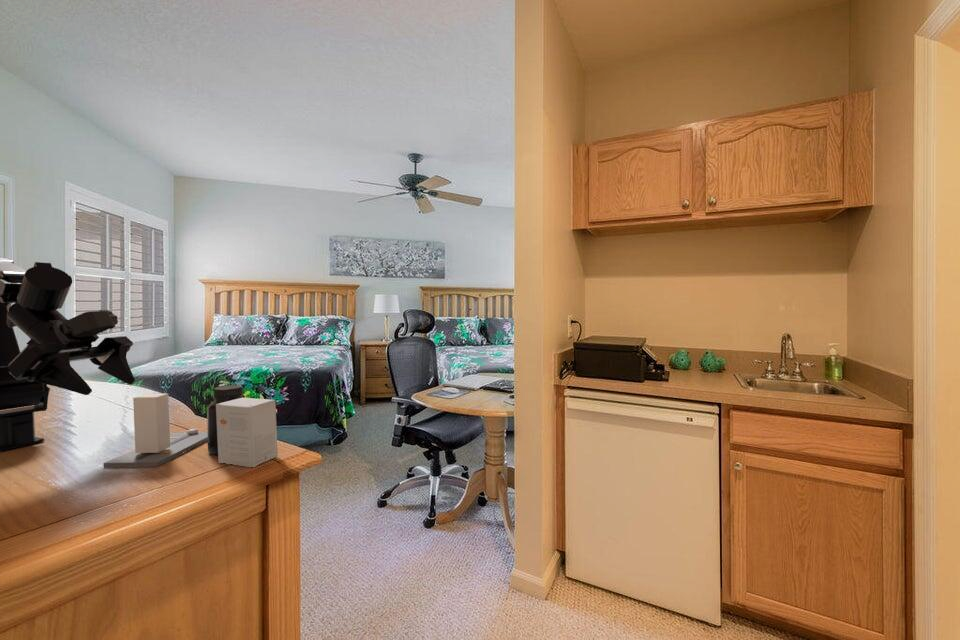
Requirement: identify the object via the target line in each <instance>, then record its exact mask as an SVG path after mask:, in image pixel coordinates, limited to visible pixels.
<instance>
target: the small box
mask: <svg viewBox="0 0 960 640" xmlns="http://www.w3.org/2000/svg"><path fill="white" fill-rule="evenodd" d="M276 411H277V408H276V399H268V398H267V399H266V398H265V399H264V398H254V397H253V398H252V397H242V398H239V399H235V400H231V401H227V402H223V403H219V404H216V419H217V441H218V455H217V458H218V460H217V461H218V463H219V462H220V463H219V464H223V463H228V464H227V465H230V464H233V465H232V466H237V465H238V466H240V467H244V466H245V468H251V467H253V468H255V467H258V466H260V465H261V463H262V464H264V463H266V462H269V461H271V460H273V459H274V458H277V457H278V451H279V450H278V436H277V435H278V433H277V429H278V428H277V412H276ZM270 459H271V460H270ZM265 461H266V462H265ZM263 462H264V463H263ZM259 464H260V465H259ZM257 465H258V466H257Z"/></svg>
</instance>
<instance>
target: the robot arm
mask: <svg viewBox="0 0 960 640" xmlns="http://www.w3.org/2000/svg"><path fill="white" fill-rule="evenodd" d="M72 284H73V278H72V276H71V275H69V274H68V273H67V272H65V271H64V270H62V269H60V268H56V267H55V266H54V267H53V265H52V263H51V262H41V261H40V262H39V261H35V262H34V264H33V266H32V267H29V268H28V269H26V270H25V269H23V268H21V267H20V266H19V265H17V264H16V263H14V260H12V259H9V258H5V257H4V258H1V257H0V452H2V451H8V450H12V449H16V448H20V447H25V446H28V445H33V444H38V443H41V442H44V441H45V438H43V437H38V436H36V431H35V429H36V428H35V427H36V426H35V425H36V424H35V413H36V412H46V411H47V410H48V401H49V396H50V395H49V394H50V392H51V391H50V390H51V388H50V387H49V386H52V387H56V388H59V389H63V390H67V391H70V392H75V393H77V394H81V395H82V396H83V395H84V396H89V395H90V394H92V392H93V389H92V388H91V386H90V385H89V384H88V383H87V382H86V381H85V379H83V377H82V376H80V374H79V373H78V372H77V371H76V370H75V369H74V368H73V367H72V366H71V362H79V361H84V360H85V361H86V360H89V361H90V362H91V363H92V364H93V365H95V366H98V367H97V369H98V370H100V371H102V372H104V373H106V374H108V375H109V376H112V377H113V378H115V379H117V380H119V381H121V382H123V383H126V384H128V385H130V386H131V385H133V384H134V383H135V382H136V379H135V377H134V374H133V371H132V370H131V367H130V365H129V362H128V359H127V353H128V352H129V351H130V350H131V348H132V346H134V342H133V341H132V340H131V339H130V338H128V337H127V336H125V335H122V336H121V335H120V336H109V337H104V339H103V340H101V341H100V343H98V344H97V345H96V346H93V344H92V343H94V342H96V341H97V340H98V339H100V336H99V334H101V333H104V332H105V331H107V330H109V329H110V330H112V329H114V328H116V325H118V323H119V320H118V316H117V315H115V314H114V313H113V312H112V311H110V310H109V309H100V310H91V311H89V310H88V311H86V312H83V313H80V314H78V315H76V316H74V317H72V318H69V319H68V318H66V317H65V316H64V315H63V314H62V313H61V312H60V311H59V310H61V309H62V308H63V306H64V303H65V301H66V299H67V296H68V294H69V292H70V289H71V286H72ZM14 327H17V328H18V329H19V330H21V332H23V333H24V334H25V335H26V336H27V337H28V338H29V340H28V341H27V342H26V346H25V347H24V348H23V349H22V350H21V349H20V346H19V343H18V340H17V336H16V332H15V330H14Z"/></svg>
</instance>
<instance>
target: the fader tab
mask: <svg viewBox="0 0 960 640" xmlns="http://www.w3.org/2000/svg"><path fill="white" fill-rule="evenodd" d="M132 399H133V401H132V402H133V404H132V405H133V424H134V425H133V426H134V427H133V428H134V450H135V453H158V452H160V451H163V450H165V449H167V448H169V447H170V434H171V431H170V405H169V393H145V394H141V395H137V396H134V397H132Z"/></svg>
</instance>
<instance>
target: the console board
mask: <svg viewBox="0 0 960 640" xmlns="http://www.w3.org/2000/svg"><path fill="white" fill-rule="evenodd" d="M206 442H208V431H199V430H198V428H191V429H188V430H186V432H185V431H184V432H179V431H178V432H173V433H170V447H169V448H167V449H165V450H163V451H160V452H158V453H135V449H132V450H131V451H128V452H125V453H124V454H121V455H119V456H116V457H115V458H112V459H110V460H107V461H105V462H103V465H102V466H103V468H104V469H106V468H107V469H108V468H158V467H160V466H161V465H163V463H164V464H166V463H168V462H169V460H170V461H171V459H172V460H173V459H175V458H177V457H179V456H181V455H183V454H184V453H183V452H185V451H187V452H189V451H190V450H189V449H191V448H193V447H195V446H197V447H199V446H201V445H203V444H205V443H206ZM202 443H203V444H202ZM200 444H201V445H200ZM198 445H199V446H198ZM195 448H196V447H195ZM193 449H194V448H193ZM188 450H189V451H188ZM191 450H192V449H191ZM182 453H183V454H182ZM185 453H186V452H185ZM180 454H181V455H180ZM178 455H179V456H178ZM176 456H177V457H176ZM174 457H175V458H174ZM167 461H168V462H167ZM165 462H166V463H165Z"/></svg>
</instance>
